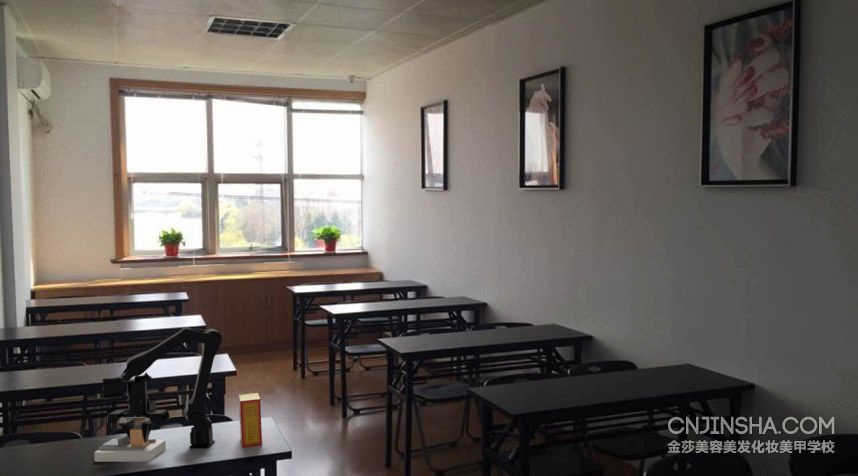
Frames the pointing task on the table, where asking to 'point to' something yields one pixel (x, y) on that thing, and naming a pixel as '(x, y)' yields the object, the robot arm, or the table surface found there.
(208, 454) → the table surface
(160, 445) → the board
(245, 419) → the baking soda box
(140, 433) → the plug
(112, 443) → the shutter
